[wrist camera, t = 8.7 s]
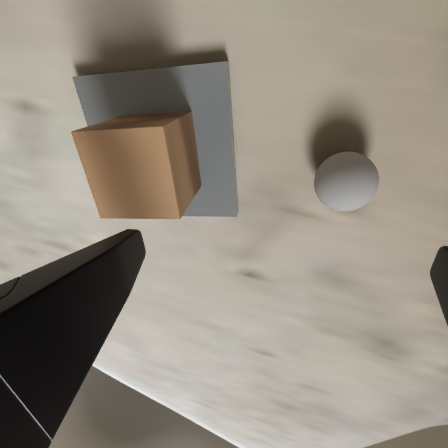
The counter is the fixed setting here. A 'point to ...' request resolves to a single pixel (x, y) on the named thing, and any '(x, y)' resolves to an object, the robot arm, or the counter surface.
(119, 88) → the slate board
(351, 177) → the grey ball
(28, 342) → the robot arm
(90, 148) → the tan block
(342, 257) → the counter surface
